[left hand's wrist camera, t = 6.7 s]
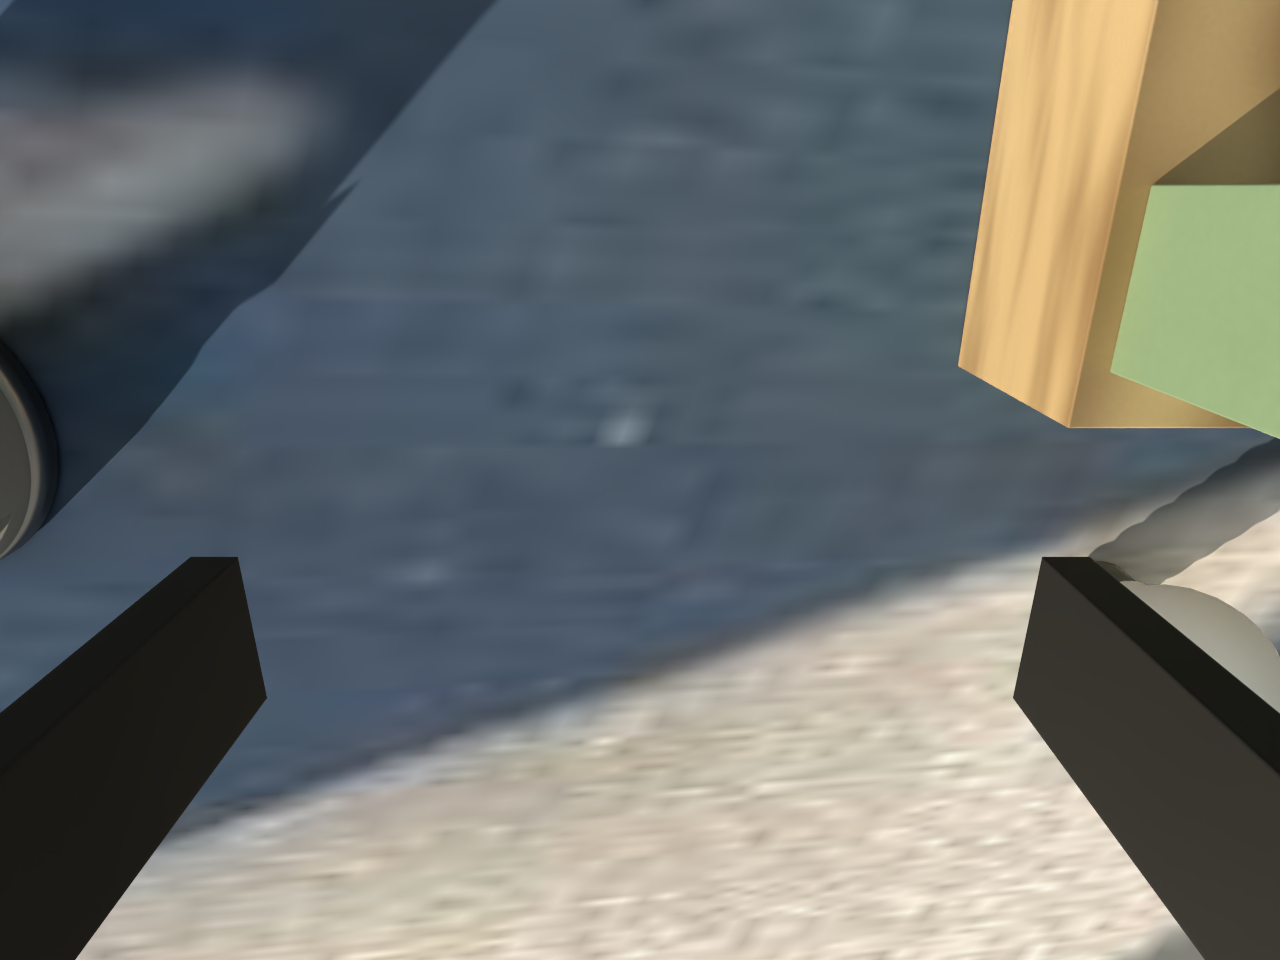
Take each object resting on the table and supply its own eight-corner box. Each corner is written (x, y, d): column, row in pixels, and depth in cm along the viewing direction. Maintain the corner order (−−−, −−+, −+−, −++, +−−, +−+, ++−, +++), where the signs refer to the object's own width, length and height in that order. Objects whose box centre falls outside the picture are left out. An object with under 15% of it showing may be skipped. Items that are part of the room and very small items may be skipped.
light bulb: (1004, 603, 41) (1128, 744, 30) (1103, 509, 39) (1272, 626, 28) (1089, 668, 42) (1235, 824, 32) (1189, 581, 40) (1379, 717, 30)
